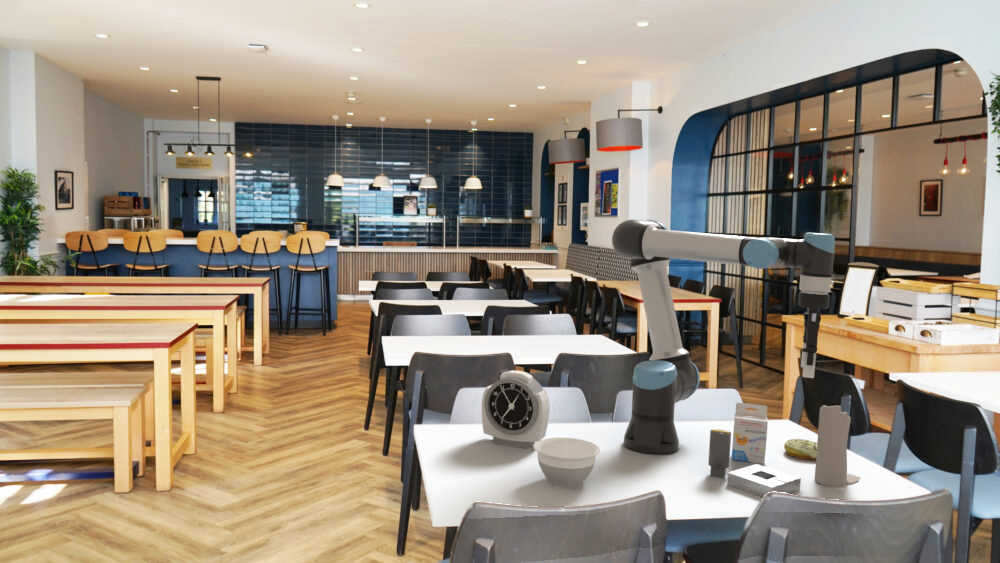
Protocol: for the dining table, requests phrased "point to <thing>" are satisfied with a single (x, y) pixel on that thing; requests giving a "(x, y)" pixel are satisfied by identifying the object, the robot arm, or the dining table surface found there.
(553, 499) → the dining table surface
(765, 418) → the ink box
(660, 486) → the dining table surface
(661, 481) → the dining table surface
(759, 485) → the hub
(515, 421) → the alarm clock
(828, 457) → the grey boot shape
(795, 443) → the decorated donut
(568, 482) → the bowl
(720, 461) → the grey rectangular block
